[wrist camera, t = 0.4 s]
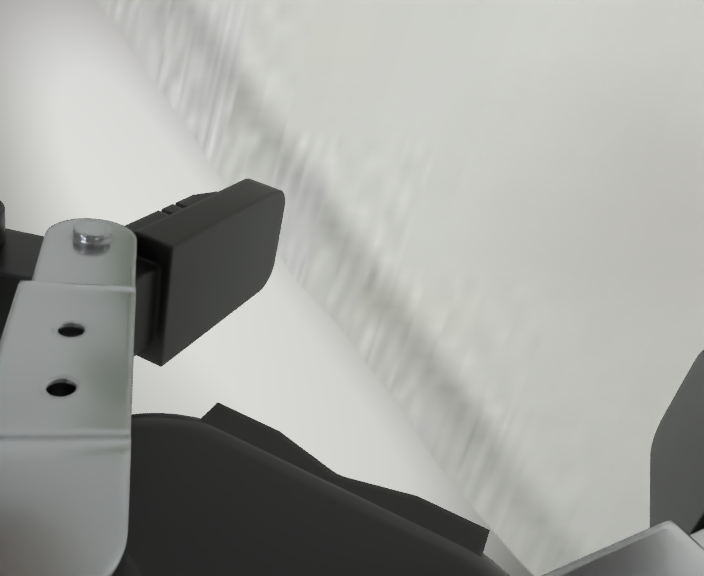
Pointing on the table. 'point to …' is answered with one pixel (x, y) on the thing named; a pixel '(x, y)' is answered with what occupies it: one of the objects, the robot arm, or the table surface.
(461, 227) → the table surface
